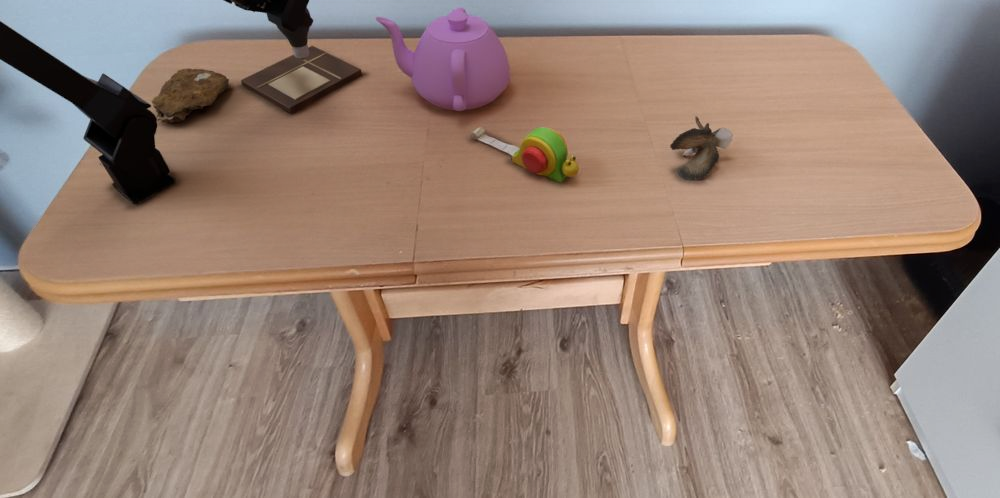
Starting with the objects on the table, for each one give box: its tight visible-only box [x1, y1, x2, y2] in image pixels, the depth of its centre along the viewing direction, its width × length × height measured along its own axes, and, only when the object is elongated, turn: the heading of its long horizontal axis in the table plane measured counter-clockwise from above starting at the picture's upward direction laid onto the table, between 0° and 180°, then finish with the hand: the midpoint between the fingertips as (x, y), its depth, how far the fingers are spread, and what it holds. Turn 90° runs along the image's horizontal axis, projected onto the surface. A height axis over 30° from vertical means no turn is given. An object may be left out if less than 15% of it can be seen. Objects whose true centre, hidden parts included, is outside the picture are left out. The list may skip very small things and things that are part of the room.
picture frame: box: [240, 45, 363, 115], centre depth 106 cm, size 16×14×1 cm
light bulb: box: [275, 6, 312, 60], centre depth 95 cm, size 6×6×10 cm
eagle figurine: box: [669, 115, 734, 181], centre depth 88 cm, size 8×7×9 cm
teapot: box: [375, 7, 511, 112], centre depth 99 cm, size 22×22×14 cm
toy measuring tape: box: [470, 126, 580, 183], centre depth 88 cm, size 6×20×7 cm, turn 51°
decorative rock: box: [151, 68, 230, 124], centre depth 100 cm, size 11×4×15 cm
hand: (300, 17), depth 94 cm, fingers closed on light bulb, 5 cm apart
